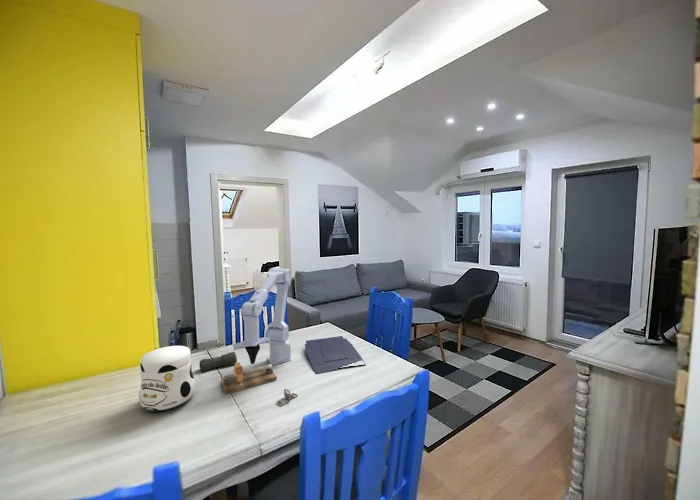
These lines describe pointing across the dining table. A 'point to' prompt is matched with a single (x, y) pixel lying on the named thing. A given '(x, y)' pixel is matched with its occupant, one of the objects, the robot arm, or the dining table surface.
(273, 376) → the pipe stand
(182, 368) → the milk container
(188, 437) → the dining table surface
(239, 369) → the collar
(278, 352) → the robot arm
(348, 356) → the grey flat slab
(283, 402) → the strap clip
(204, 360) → the flashlight
